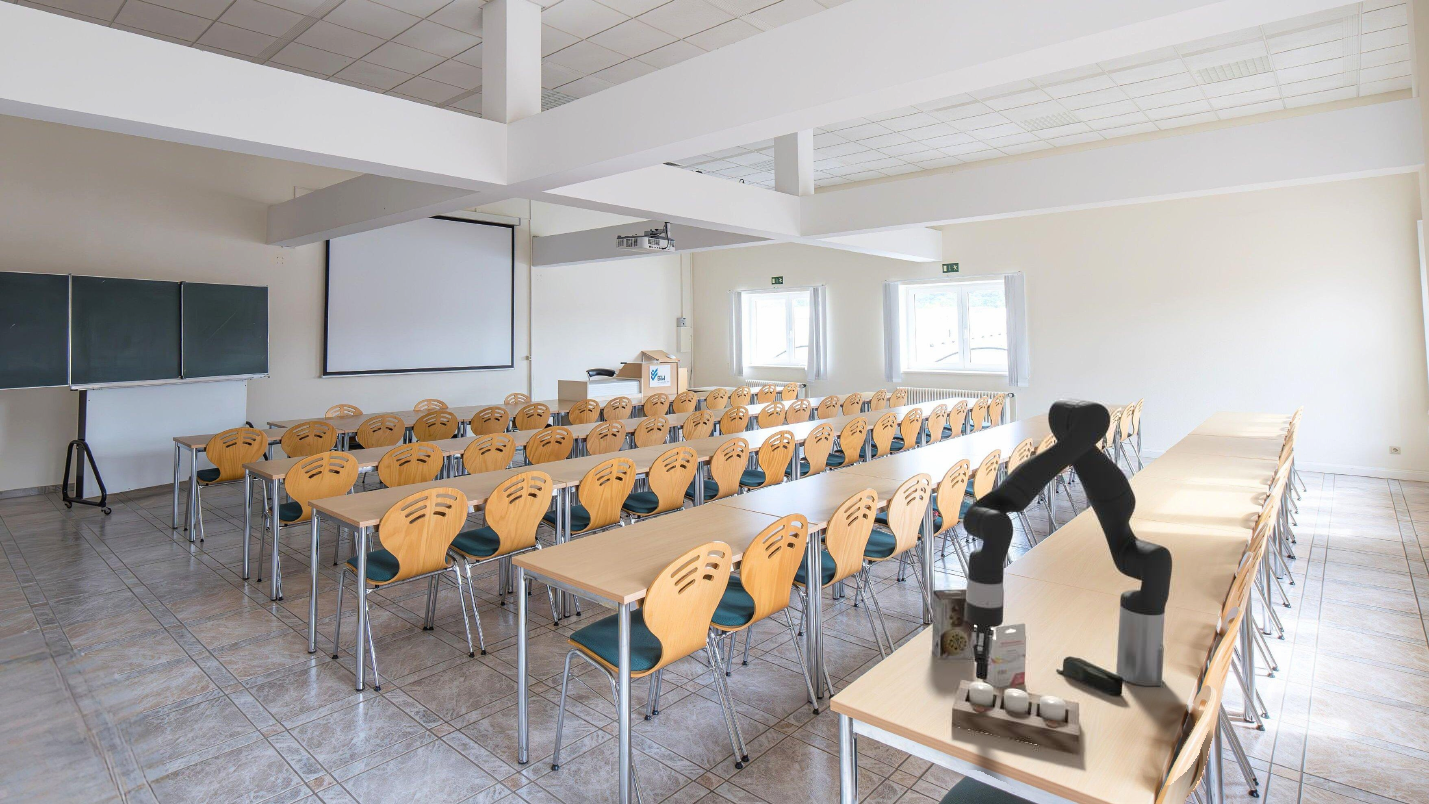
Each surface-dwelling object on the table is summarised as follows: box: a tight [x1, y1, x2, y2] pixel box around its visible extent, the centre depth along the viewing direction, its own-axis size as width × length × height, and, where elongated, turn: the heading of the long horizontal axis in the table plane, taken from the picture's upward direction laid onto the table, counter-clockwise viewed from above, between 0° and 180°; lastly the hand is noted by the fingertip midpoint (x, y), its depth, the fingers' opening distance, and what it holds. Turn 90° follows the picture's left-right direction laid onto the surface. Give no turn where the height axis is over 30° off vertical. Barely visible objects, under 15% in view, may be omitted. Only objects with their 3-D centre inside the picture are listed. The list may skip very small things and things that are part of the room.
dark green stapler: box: [1055, 656, 1124, 697], centre depth 173 cm, size 5×3×15 cm
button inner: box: [1040, 695, 1066, 722], centre depth 153 cm, size 5×5×4 cm
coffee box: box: [931, 588, 976, 660], centre depth 189 cm, size 9×6×16 cm
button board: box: [951, 679, 1080, 756], centre depth 156 cm, size 24×14×4 cm, turn 64°
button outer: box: [969, 681, 993, 707], centre depth 159 cm, size 5×5×4 cm
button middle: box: [1004, 688, 1029, 715], centre depth 156 cm, size 5×5×4 cm
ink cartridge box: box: [984, 622, 1027, 688], centre depth 174 cm, size 9×5×15 cm, turn 105°
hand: (981, 677), depth 158 cm, fingers closed
